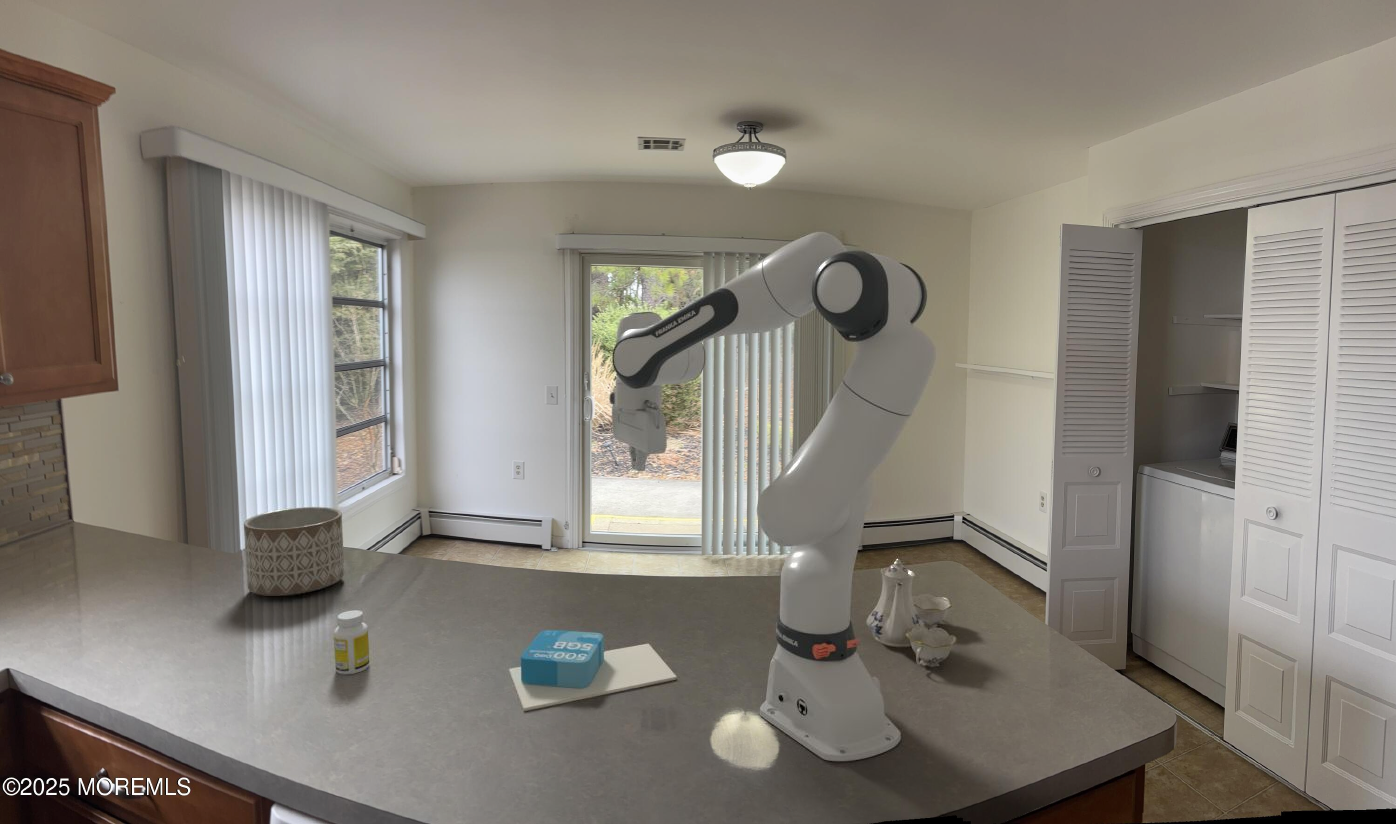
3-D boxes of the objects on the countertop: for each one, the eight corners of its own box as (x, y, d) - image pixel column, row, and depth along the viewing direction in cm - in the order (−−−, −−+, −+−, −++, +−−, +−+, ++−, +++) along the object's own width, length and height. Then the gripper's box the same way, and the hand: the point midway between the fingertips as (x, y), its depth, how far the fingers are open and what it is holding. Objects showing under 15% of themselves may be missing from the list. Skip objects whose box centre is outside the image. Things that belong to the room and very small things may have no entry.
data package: (605, 632, 126) (587, 663, 114) (605, 656, 127) (587, 689, 115) (542, 628, 128) (517, 658, 116) (542, 652, 128) (518, 684, 116)
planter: (262, 576, 167) (258, 509, 165) (351, 569, 172) (348, 504, 171) (235, 607, 148) (231, 532, 147) (336, 597, 154) (332, 525, 152)
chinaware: (963, 688, 122) (978, 598, 119) (866, 668, 125) (879, 579, 123) (942, 623, 149) (955, 549, 147) (863, 608, 152) (874, 535, 150)
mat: (676, 679, 120) (676, 676, 120) (523, 711, 109) (523, 708, 109) (648, 646, 132) (648, 643, 132) (509, 671, 122) (509, 668, 122)
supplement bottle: (370, 658, 126) (368, 606, 125) (368, 672, 121) (366, 618, 120) (337, 663, 124) (334, 610, 123) (333, 677, 119) (330, 622, 118)
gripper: (675, 403, 124) (674, 479, 126) (636, 393, 143) (635, 459, 144) (642, 404, 122) (642, 481, 123) (606, 394, 140) (606, 461, 141)
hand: (638, 469), depth 134 cm, fingers closed
